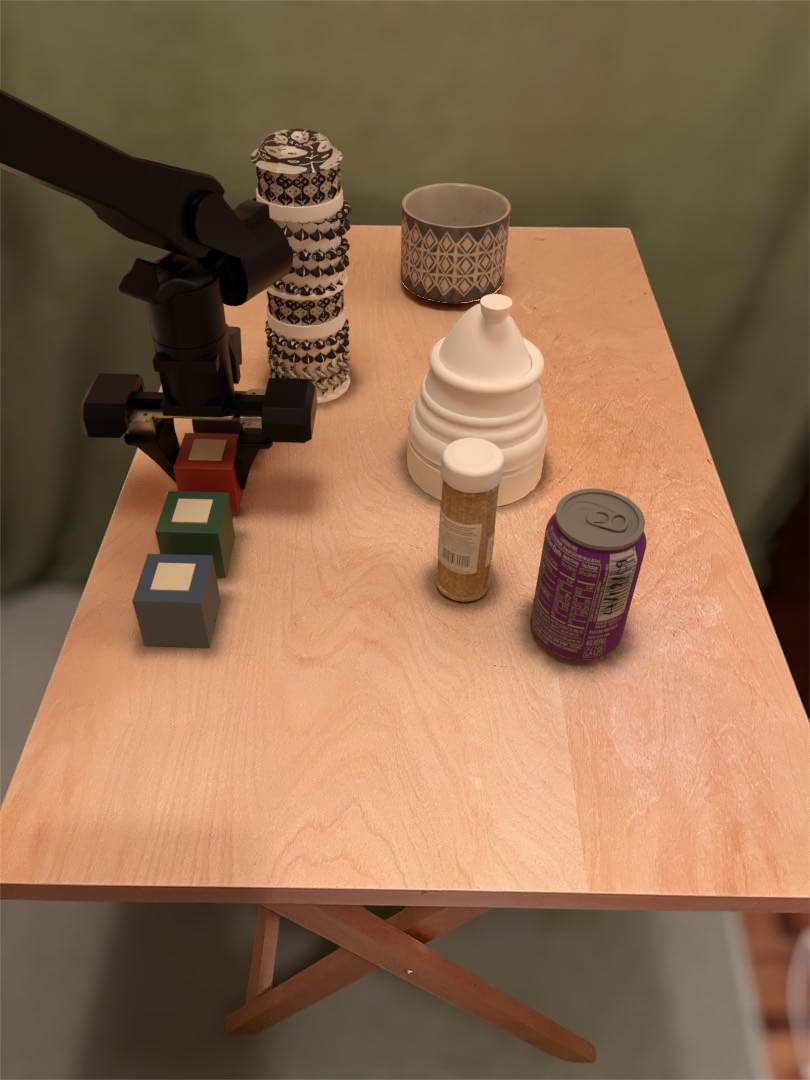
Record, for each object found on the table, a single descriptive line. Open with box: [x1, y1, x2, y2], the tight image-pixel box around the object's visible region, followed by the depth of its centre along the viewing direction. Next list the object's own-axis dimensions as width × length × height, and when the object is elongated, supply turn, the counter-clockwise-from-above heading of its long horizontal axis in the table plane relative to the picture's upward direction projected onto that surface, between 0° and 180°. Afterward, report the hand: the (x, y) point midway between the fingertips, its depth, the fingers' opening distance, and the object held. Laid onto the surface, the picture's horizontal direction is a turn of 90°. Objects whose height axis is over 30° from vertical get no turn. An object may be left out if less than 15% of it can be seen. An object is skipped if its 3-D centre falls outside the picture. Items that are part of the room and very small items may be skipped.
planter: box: [400, 182, 512, 304], centre depth 109 cm, size 13×13×10 cm
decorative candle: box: [250, 128, 352, 405], centre depth 88 cm, size 9×9×25 cm
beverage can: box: [530, 488, 647, 661], centre depth 67 cm, size 7×7×12 cm
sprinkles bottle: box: [435, 438, 504, 603], centre depth 70 cm, size 5×5×13 cm
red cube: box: [173, 432, 245, 514], centre depth 80 cm, size 5×5×5 cm
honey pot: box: [406, 293, 549, 507], centre depth 81 cm, size 13×13×18 cm
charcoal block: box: [191, 390, 247, 434], centre depth 86 cm, size 5×5×5 cm
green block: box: [154, 490, 236, 579], centre depth 75 cm, size 5×5×5 cm
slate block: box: [132, 553, 221, 649], centre depth 70 cm, size 5×5×5 cm
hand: (213, 486), depth 81 cm, fingers closed on red cube, 5 cm apart
